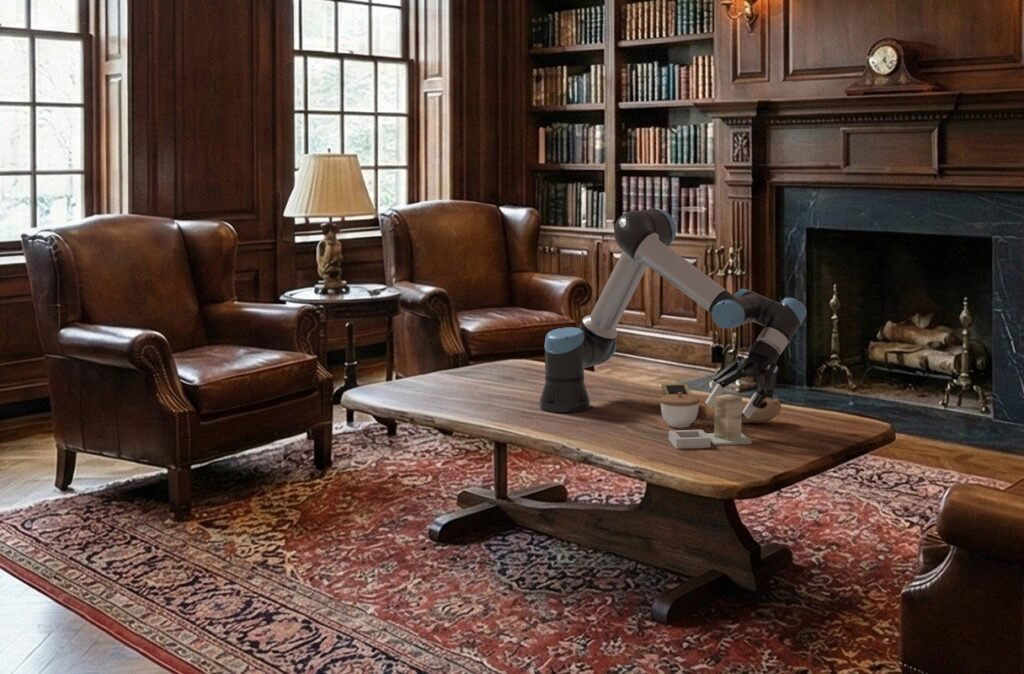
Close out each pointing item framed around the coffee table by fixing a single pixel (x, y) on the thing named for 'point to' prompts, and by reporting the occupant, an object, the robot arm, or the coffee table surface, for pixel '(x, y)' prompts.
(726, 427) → the maple block
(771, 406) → the pottery oil lamp
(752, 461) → the coffee table surface
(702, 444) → the stone well
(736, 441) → the felt pad
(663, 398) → the lidded jar
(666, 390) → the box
